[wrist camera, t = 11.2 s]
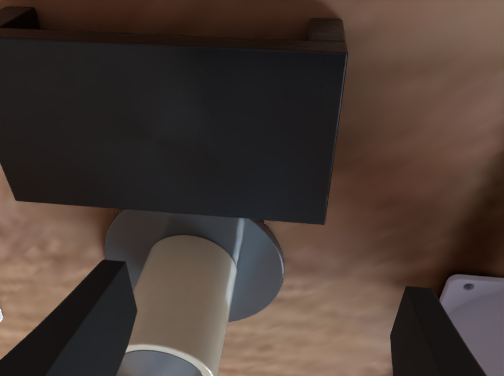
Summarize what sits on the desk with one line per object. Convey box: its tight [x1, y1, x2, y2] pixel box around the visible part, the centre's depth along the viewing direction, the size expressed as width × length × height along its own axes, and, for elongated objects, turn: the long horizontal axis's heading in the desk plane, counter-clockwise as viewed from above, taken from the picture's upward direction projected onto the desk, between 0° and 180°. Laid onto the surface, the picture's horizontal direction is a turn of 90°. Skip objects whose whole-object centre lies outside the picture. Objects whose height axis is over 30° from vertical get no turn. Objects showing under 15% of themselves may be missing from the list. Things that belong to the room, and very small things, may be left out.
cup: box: [116, 235, 237, 376], centre depth 22 cm, size 5×5×6 cm
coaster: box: [105, 209, 284, 322], centre depth 25 cm, size 10×10×1 cm
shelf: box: [0, 7, 348, 225], centre depth 18 cm, size 13×7×4 cm, turn 90°
